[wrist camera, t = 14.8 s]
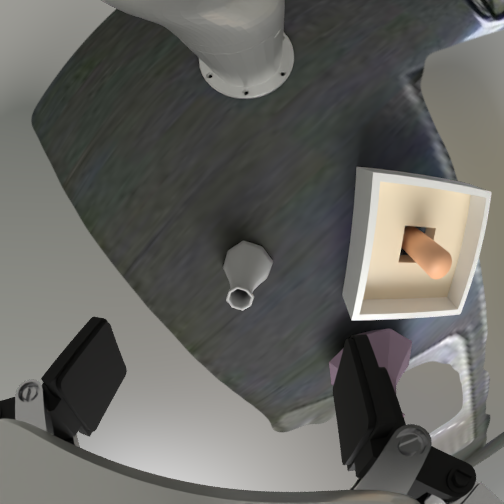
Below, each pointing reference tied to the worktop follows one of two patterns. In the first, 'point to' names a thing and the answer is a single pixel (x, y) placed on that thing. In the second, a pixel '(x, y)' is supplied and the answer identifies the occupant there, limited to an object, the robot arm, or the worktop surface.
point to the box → (391, 236)
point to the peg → (426, 252)
